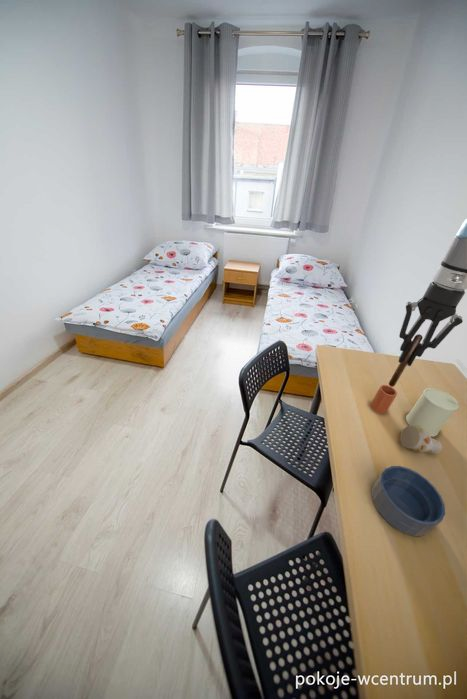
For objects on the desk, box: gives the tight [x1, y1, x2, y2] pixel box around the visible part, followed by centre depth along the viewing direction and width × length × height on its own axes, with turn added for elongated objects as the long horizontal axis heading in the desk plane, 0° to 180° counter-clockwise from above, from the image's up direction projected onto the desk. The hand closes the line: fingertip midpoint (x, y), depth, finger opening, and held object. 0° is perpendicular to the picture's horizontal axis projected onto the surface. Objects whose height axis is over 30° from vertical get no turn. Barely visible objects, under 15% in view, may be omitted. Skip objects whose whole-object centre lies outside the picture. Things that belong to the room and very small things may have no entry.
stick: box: [388, 333, 424, 388], centre depth 81 cm, size 2×2×19 cm
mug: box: [400, 425, 442, 455], centre depth 78 cm, size 8×10×10 cm
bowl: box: [371, 465, 446, 537], centre depth 63 cm, size 13×13×6 cm
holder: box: [370, 384, 398, 415], centre depth 89 cm, size 5×5×8 cm
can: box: [405, 387, 460, 437], centre depth 84 cm, size 9×9×12 cm
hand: (404, 361), depth 81 cm, fingers closed on stick, 2 cm apart
